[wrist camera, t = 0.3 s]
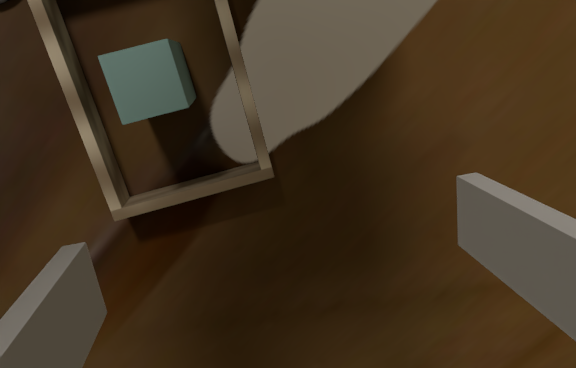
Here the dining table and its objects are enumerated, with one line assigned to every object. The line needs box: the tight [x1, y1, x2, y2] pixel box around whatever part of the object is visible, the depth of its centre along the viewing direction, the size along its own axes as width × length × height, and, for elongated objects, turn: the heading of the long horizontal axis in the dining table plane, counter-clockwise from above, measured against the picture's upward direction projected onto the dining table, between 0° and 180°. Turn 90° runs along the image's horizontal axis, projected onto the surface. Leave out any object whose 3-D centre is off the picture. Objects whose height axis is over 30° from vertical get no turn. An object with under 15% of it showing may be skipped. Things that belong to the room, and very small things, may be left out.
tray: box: [27, 0, 274, 221], centre depth 39 cm, size 22×15×4 cm
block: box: [98, 39, 197, 125], centre depth 36 cm, size 5×5×9 cm
